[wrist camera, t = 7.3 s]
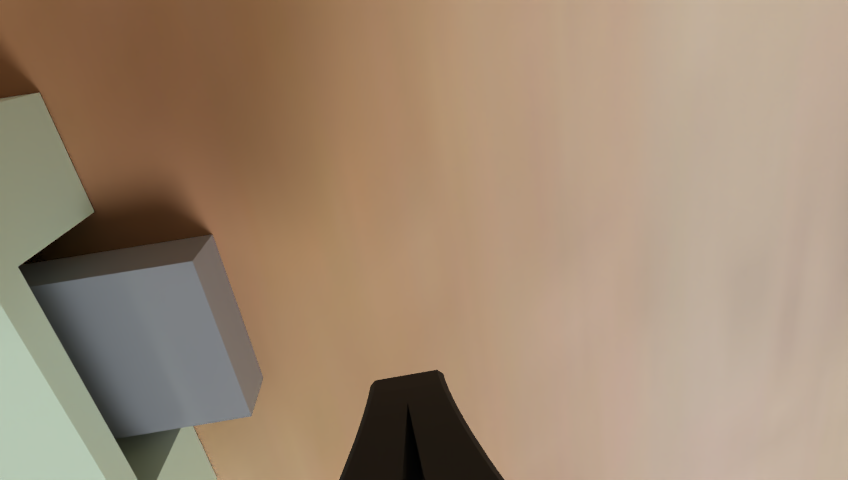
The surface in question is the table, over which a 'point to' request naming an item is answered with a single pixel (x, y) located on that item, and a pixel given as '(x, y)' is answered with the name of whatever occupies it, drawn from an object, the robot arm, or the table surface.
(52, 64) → the table surface
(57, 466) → the pale green block
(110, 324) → the gray block
